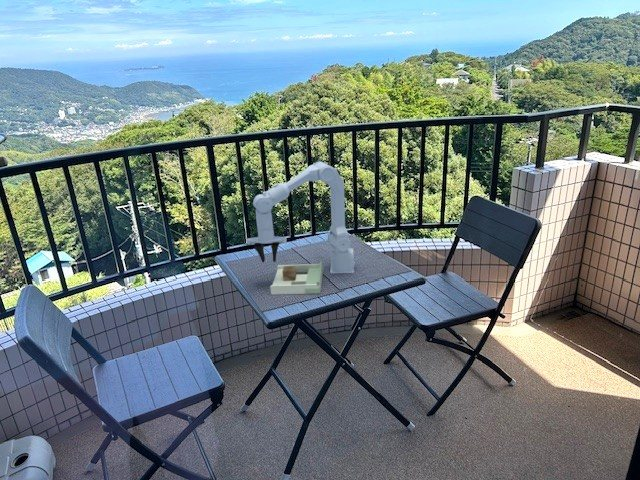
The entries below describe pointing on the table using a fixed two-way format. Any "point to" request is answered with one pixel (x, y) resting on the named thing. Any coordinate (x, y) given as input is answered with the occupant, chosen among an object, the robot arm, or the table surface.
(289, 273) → the walnut block
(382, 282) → the table surface
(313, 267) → the board
